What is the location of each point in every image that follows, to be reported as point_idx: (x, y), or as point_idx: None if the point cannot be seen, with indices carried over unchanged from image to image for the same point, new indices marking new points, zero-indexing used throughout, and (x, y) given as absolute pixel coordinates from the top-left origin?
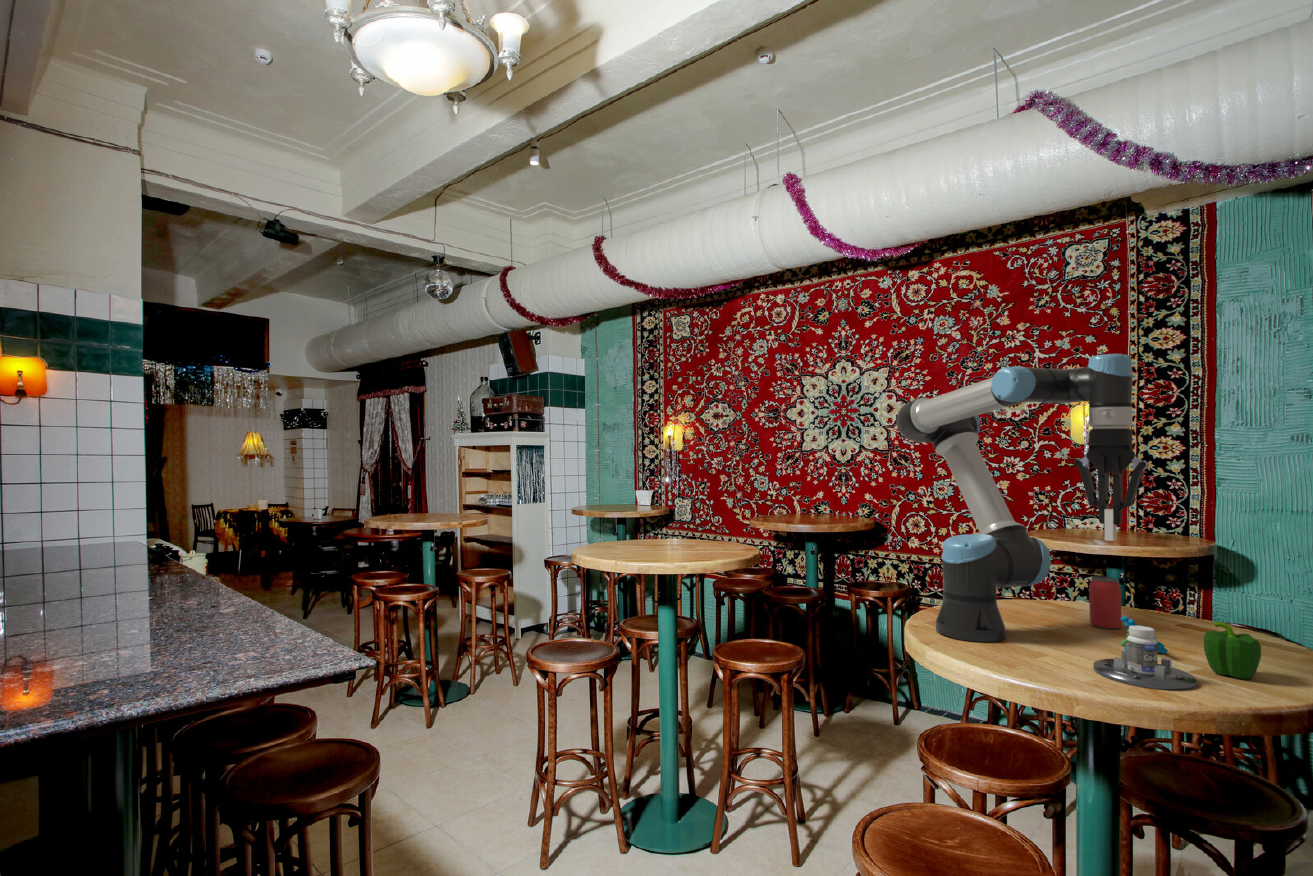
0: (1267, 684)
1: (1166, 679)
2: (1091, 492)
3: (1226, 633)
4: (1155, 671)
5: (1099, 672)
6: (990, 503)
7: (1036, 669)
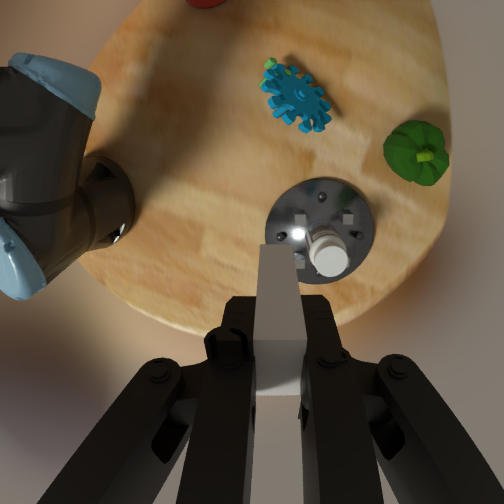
0: None
1: (346, 251)
2: (164, 472)
3: (421, 142)
4: None
5: None
6: None
7: (221, 296)
